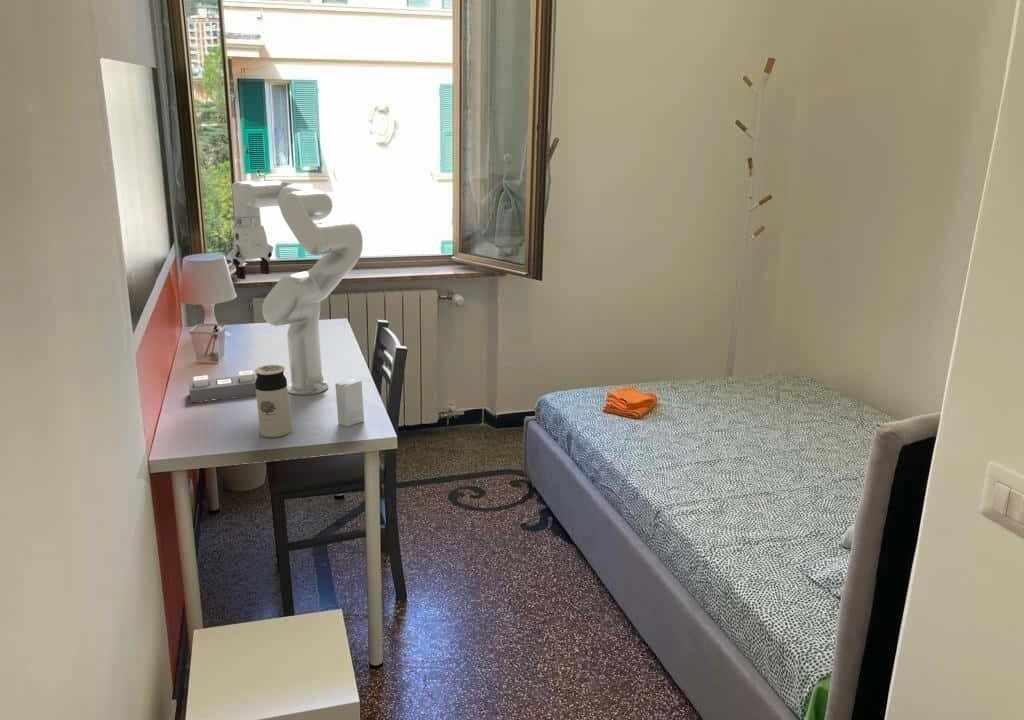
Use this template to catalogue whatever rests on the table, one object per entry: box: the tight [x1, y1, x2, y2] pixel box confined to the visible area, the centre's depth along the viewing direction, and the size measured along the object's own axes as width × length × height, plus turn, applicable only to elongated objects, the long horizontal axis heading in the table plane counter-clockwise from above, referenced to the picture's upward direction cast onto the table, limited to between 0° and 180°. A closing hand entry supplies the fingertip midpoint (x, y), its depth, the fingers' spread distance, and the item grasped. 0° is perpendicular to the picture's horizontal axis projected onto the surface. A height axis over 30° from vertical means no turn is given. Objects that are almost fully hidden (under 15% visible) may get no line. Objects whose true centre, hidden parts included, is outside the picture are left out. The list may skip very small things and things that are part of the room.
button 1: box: [193, 374, 209, 388], centre depth 235 cm, size 4×4×3 cm
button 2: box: [238, 369, 254, 382], centre depth 240 cm, size 4×4×3 cm
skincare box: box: [335, 377, 365, 428], centre depth 214 cm, size 6×4×12 cm
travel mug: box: [254, 364, 292, 439], centre depth 206 cm, size 8×8×18 cm
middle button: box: [217, 379, 232, 385], centre depth 238 cm, size 4×4×3 cm
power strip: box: [188, 373, 257, 403], centre depth 238 cm, size 21×9×4 cm, turn 112°
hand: (253, 276), depth 247 cm, fingers open, 9 cm apart
